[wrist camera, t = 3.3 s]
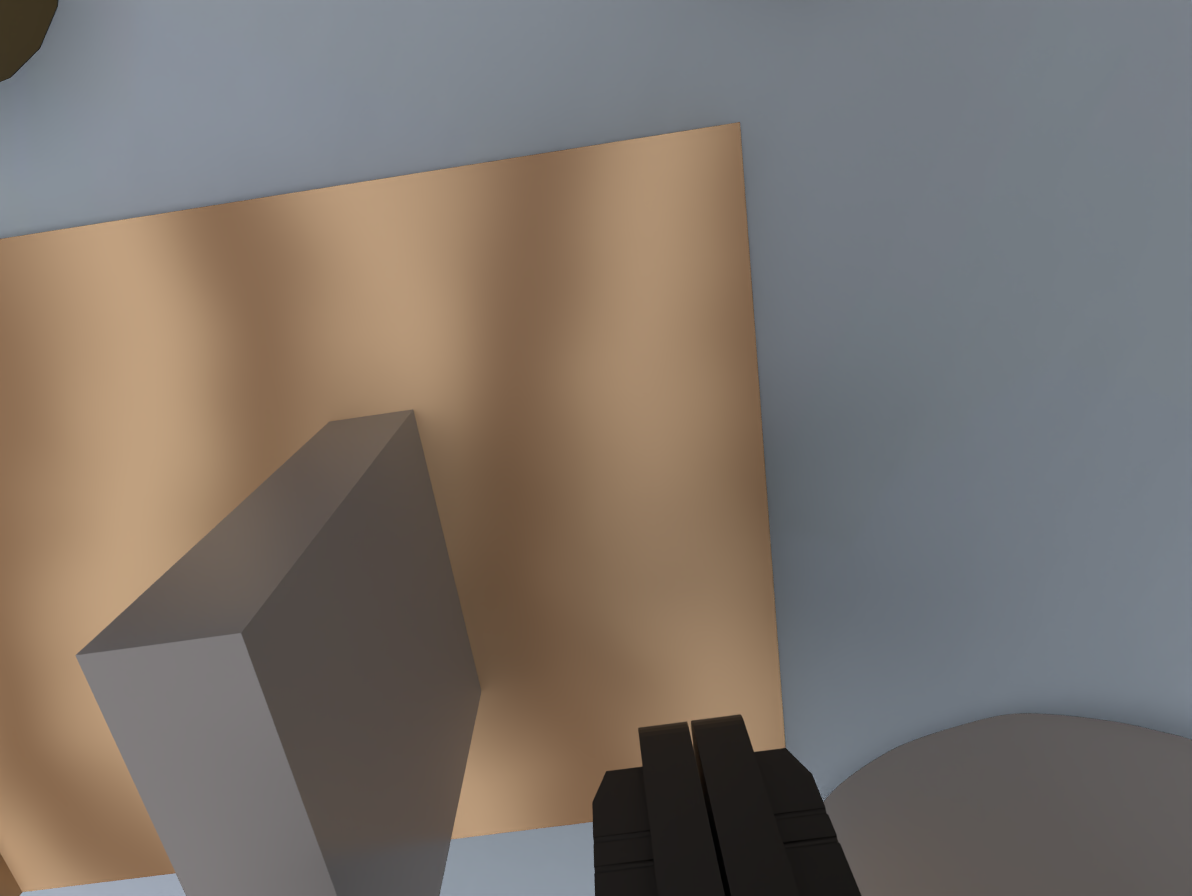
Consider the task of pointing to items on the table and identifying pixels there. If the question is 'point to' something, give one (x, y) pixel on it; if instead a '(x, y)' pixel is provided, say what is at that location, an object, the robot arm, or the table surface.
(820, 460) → the table surface
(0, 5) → the olive pepper mill
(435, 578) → the slate tile
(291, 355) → the oak board
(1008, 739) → the lumpy-topped squat cylinder
